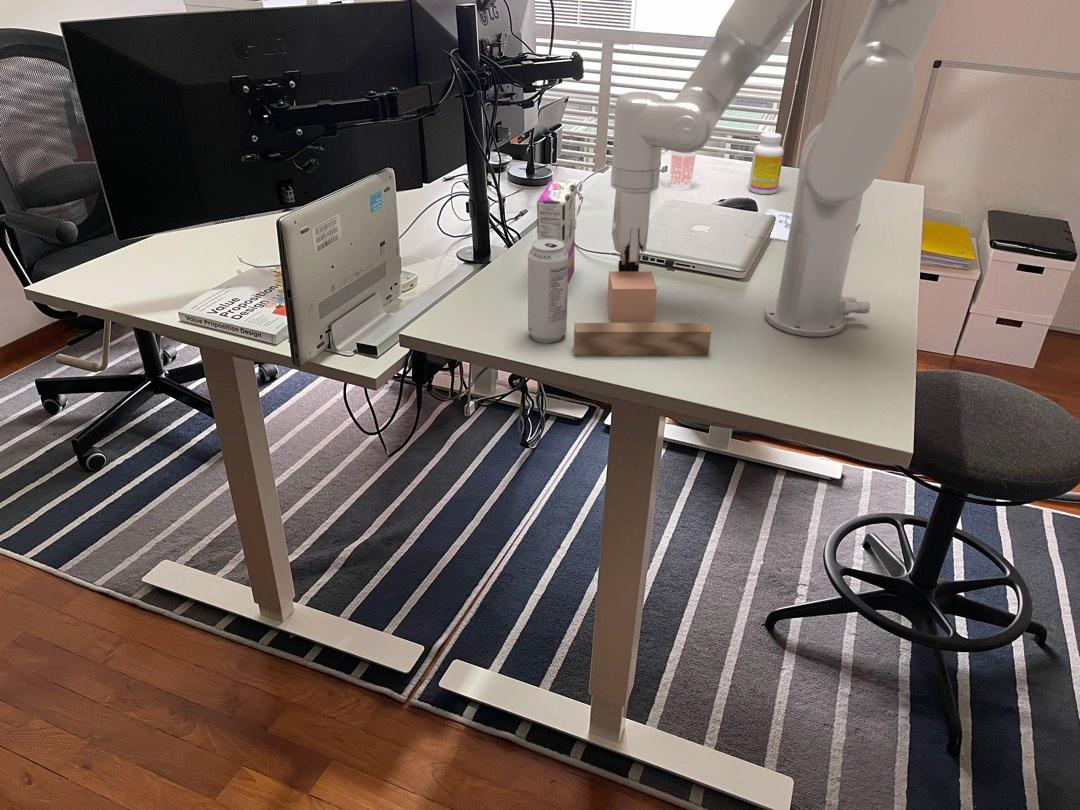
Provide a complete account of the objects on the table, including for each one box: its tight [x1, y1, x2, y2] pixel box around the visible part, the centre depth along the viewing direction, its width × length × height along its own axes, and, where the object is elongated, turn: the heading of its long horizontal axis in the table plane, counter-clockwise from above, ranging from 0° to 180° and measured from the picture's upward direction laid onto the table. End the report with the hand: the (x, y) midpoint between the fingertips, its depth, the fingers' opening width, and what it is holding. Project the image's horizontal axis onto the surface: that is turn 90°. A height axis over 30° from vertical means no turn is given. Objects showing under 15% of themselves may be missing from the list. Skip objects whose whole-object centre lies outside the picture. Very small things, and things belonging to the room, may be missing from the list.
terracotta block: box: [606, 270, 658, 323], centre depth 135 cm, size 7×7×6 cm
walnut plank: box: [573, 322, 712, 357], centre depth 124 cm, size 20×3×4 cm, turn 91°
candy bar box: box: [536, 180, 577, 284], centre depth 143 cm, size 11×5×16 cm, turn 168°
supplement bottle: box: [748, 131, 785, 195], centre depth 190 cm, size 7×7×13 cm
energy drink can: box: [527, 238, 569, 344], centre depth 125 cm, size 6×6×15 cm
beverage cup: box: [670, 150, 698, 192], centre depth 191 cm, size 6×6×14 cm
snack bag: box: [764, 208, 861, 243], centre depth 171 cm, size 19×20×2 cm
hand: (627, 284), depth 140 cm, fingers closed
